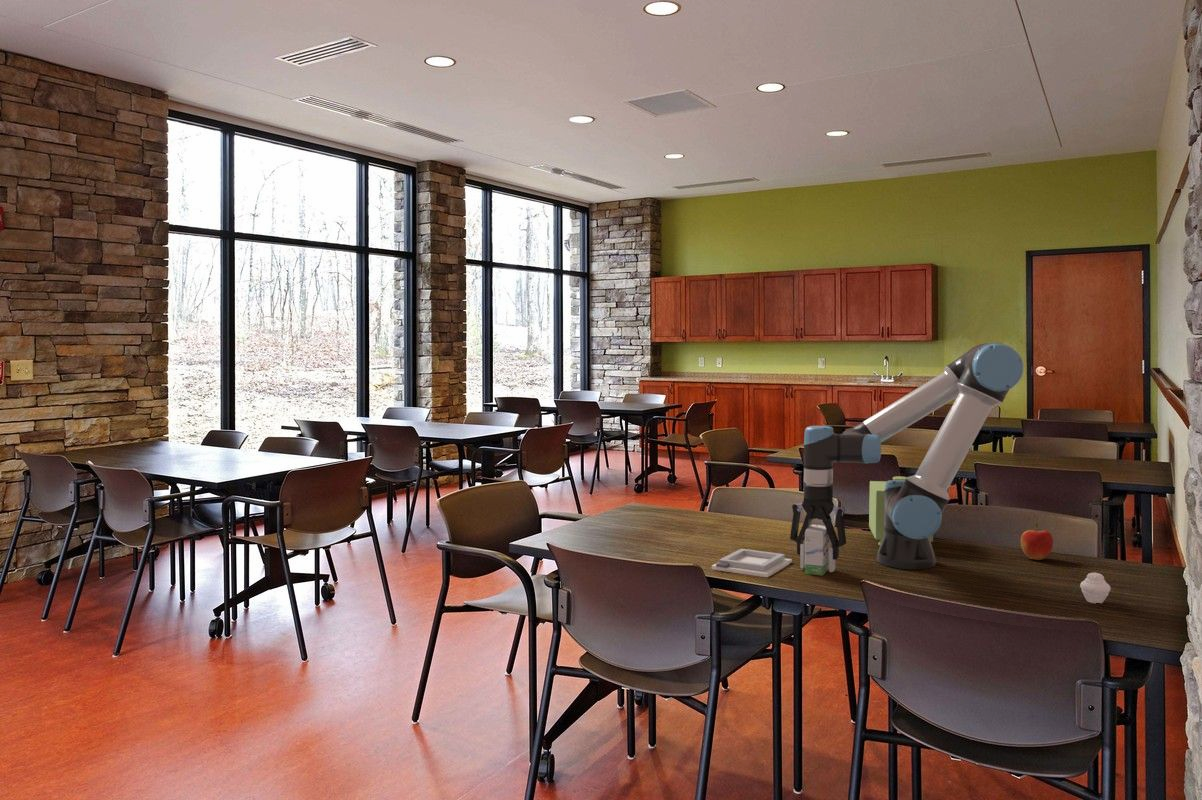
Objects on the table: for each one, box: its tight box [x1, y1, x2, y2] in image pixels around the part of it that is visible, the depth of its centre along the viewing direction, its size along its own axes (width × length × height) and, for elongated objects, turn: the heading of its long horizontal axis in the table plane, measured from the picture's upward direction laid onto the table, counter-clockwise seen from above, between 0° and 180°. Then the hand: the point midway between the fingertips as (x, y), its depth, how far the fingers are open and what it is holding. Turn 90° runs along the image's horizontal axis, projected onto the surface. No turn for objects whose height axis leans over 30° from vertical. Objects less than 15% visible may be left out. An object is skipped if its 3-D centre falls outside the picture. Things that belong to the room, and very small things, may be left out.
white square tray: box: [711, 548, 793, 578], centre depth 234 cm, size 16×18×2 cm
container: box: [868, 475, 934, 546], centre depth 262 cm, size 19×16×20 cm
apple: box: [1020, 523, 1054, 561], centre depth 239 cm, size 8×8×10 cm
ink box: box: [804, 524, 831, 577], centre depth 228 cm, size 8×5×12 cm, turn 152°
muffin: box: [1079, 572, 1112, 604], centre depth 199 cm, size 6×6×7 cm
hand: (817, 568), depth 228 cm, fingers open, 7 cm apart
